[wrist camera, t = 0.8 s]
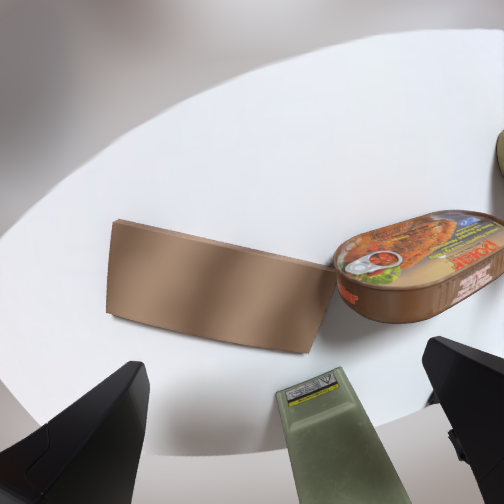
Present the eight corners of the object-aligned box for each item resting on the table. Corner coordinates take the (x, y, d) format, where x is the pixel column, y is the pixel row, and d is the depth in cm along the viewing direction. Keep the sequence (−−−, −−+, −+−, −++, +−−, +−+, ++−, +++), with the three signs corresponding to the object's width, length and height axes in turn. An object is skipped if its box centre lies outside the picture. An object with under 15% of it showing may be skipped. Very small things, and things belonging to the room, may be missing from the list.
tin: (459, 204, 20) (531, 222, 12) (460, 237, 21) (527, 263, 13) (313, 246, 19) (376, 294, 11) (319, 287, 20) (377, 350, 12)
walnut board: (334, 267, 21) (339, 273, 19) (305, 345, 22) (308, 353, 21) (119, 218, 18) (112, 222, 17) (111, 305, 20) (105, 312, 19)
